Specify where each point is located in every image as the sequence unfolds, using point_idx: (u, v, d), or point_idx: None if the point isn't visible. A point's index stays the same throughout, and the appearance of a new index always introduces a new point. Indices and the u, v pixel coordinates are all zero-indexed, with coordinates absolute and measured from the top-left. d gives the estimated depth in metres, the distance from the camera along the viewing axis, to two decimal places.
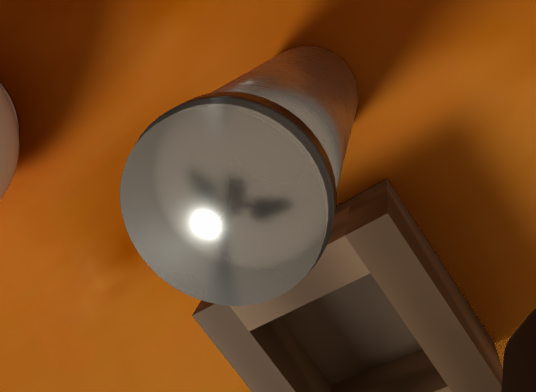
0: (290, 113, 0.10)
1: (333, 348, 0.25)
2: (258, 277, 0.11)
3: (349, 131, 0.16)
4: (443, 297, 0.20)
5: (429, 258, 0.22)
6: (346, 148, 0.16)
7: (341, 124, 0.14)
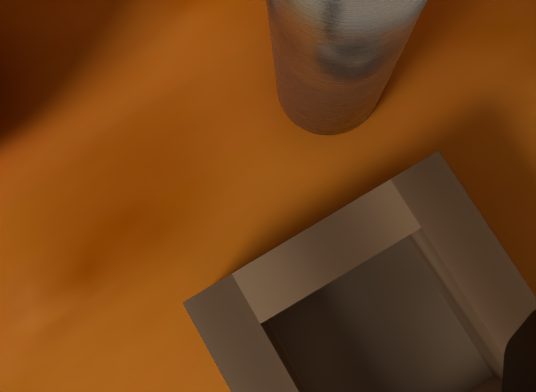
0: None
1: None
2: None
3: None
4: (509, 259, 0.16)
5: None
6: None
7: None
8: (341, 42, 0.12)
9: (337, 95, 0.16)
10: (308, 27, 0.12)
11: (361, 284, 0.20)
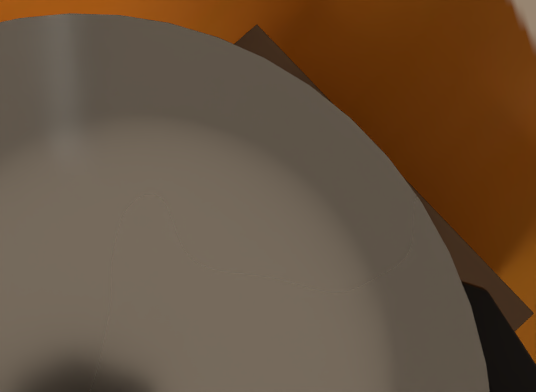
0: None
1: None
2: None
3: None
4: None
5: None
6: None
7: None
8: None
9: None
10: None
11: None
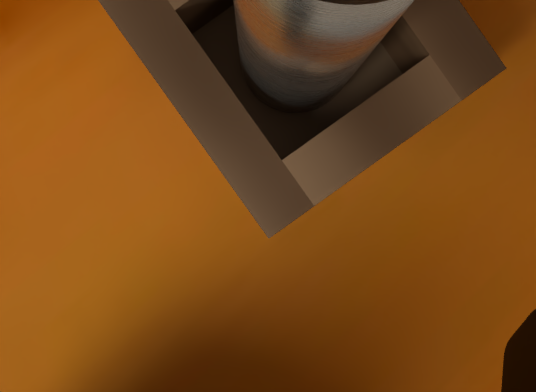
0: None
1: None
2: None
3: None
4: None
5: None
6: None
7: None
8: (306, 44, 0.11)
9: (300, 85, 0.15)
10: (272, 23, 0.11)
11: None
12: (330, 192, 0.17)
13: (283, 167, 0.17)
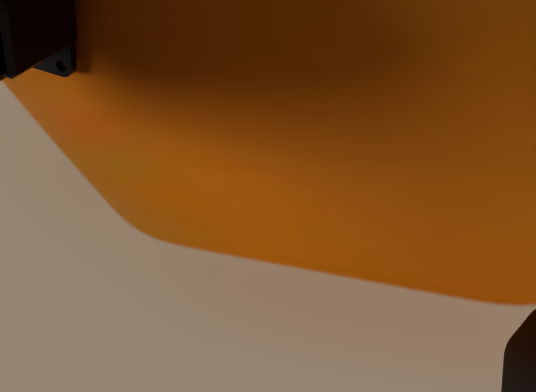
0: None
1: None
2: None
3: None
4: None
5: None
6: None
7: None
8: None
9: None
10: None
11: None
12: None
13: None
